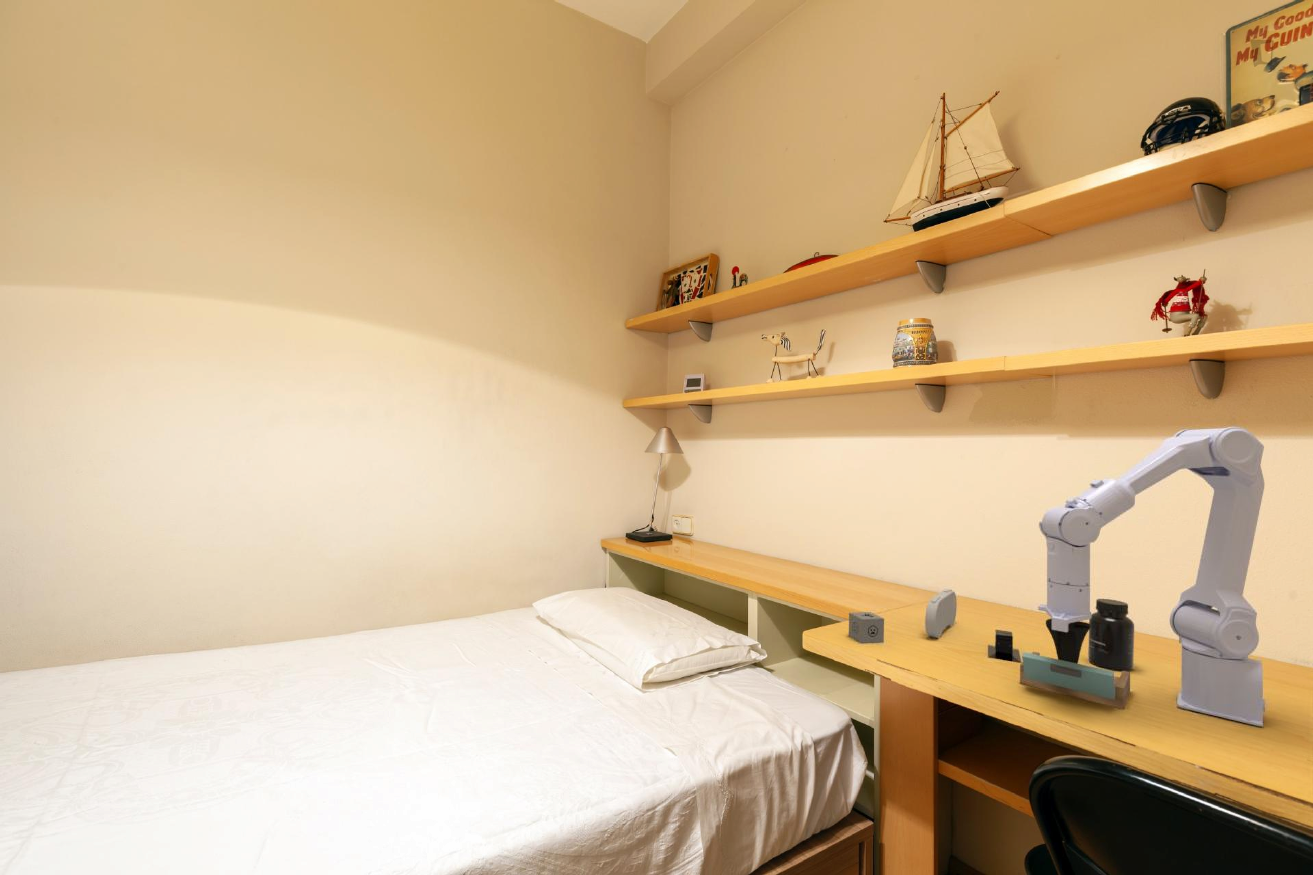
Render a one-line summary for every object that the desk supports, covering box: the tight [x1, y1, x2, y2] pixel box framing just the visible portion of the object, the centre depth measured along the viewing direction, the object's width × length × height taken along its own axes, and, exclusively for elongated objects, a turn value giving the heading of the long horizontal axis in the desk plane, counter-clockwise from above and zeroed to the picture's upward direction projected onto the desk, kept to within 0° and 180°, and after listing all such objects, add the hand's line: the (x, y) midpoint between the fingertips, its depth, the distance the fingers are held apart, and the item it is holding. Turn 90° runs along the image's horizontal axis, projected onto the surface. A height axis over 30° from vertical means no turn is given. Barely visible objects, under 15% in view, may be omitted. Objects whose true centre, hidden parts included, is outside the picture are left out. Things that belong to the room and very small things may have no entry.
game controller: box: [924, 588, 958, 639], centre depth 133 cm, size 20×2×8 cm, turn 141°
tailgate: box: [1021, 651, 1115, 700], centre depth 96 cm, size 12×2×5 cm, turn 47°
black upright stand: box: [987, 629, 1023, 664], centre depth 118 cm, size 12×7×5 cm, turn 151°
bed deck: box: [1019, 651, 1131, 710], centre depth 101 cm, size 14×10×3 cm
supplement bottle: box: [1087, 598, 1135, 672], centre depth 113 cm, size 7×7×12 cm
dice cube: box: [848, 611, 885, 645], centre depth 125 cm, size 5×5×5 cm
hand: (1067, 667), depth 96 cm, fingers closed, pressing on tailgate
